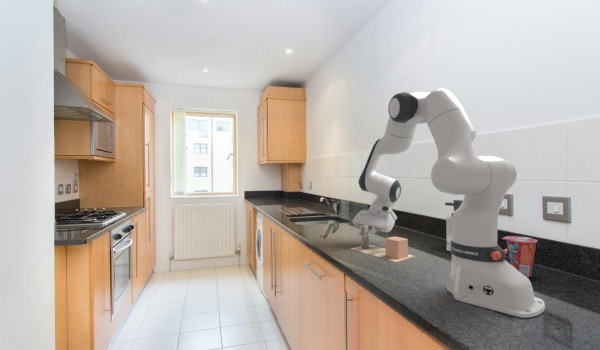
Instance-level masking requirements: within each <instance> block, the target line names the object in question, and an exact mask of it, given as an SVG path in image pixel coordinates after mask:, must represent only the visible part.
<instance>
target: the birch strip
mask: <svg viewBox="0 0 600 350" xmlns="http://www.w3.org/2000/svg"><path fill="white" fill-rule="evenodd" d="M361 228H362V236H361V245H360V246H356V247H351V248H350V250H354V251H357V252H361V253H365V254H367V255H371V256H375V257H377V258H381V259H384V260H389V261H391V262H395V263H398V262H402V261H405V260H409V259H414V258H416V255H412V254H408V257H406V258H402V259H399V260H398V259H394V258H391V257H387V256H385V248H384V247H380V246H378V245H377V246H376V245H372V244H369V241H370V237H367V236H366V234H367V232H369V231H370V229H368V225H361Z"/></svg>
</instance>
